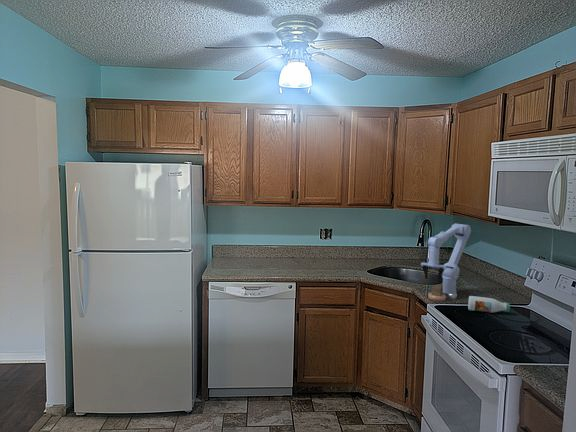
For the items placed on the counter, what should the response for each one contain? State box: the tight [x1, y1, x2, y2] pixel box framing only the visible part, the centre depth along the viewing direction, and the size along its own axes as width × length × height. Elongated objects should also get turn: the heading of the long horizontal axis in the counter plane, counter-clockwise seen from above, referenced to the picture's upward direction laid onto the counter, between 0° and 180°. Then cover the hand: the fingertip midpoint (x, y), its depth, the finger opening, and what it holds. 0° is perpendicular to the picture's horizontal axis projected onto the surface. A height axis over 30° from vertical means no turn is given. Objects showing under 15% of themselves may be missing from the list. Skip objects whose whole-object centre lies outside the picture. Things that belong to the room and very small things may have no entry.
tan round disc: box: [427, 291, 447, 302], centre depth 251 cm, size 10×10×2 cm
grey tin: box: [447, 292, 458, 300], centre depth 253 cm, size 5×5×3 cm
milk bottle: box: [467, 295, 511, 314], centre depth 229 cm, size 8×8×20 cm
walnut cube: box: [431, 284, 444, 296], centre depth 251 cm, size 5×5×5 cm
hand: (432, 279), depth 256 cm, fingers open, 7 cm apart
